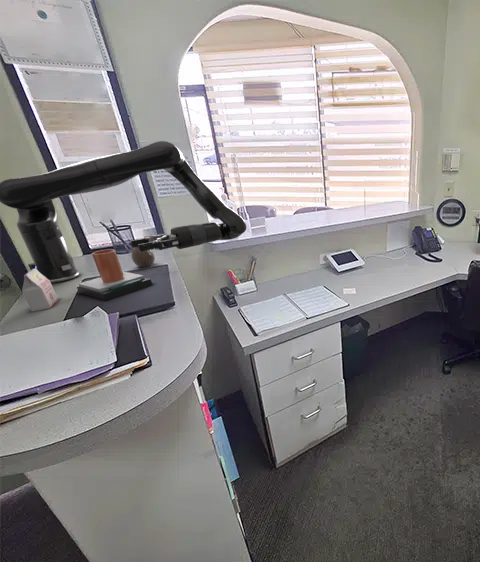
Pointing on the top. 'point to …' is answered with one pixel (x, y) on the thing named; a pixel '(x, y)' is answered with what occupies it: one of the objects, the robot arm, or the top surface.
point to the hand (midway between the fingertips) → (135, 246)
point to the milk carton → (38, 291)
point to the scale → (113, 286)
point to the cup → (108, 265)
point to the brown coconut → (142, 257)
